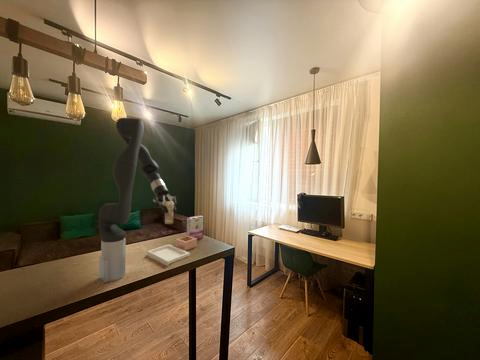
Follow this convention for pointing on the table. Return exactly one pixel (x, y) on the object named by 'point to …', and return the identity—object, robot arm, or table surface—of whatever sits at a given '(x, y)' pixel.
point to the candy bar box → (195, 226)
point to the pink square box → (186, 242)
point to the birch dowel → (170, 214)
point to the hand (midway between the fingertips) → (171, 211)
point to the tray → (167, 254)
